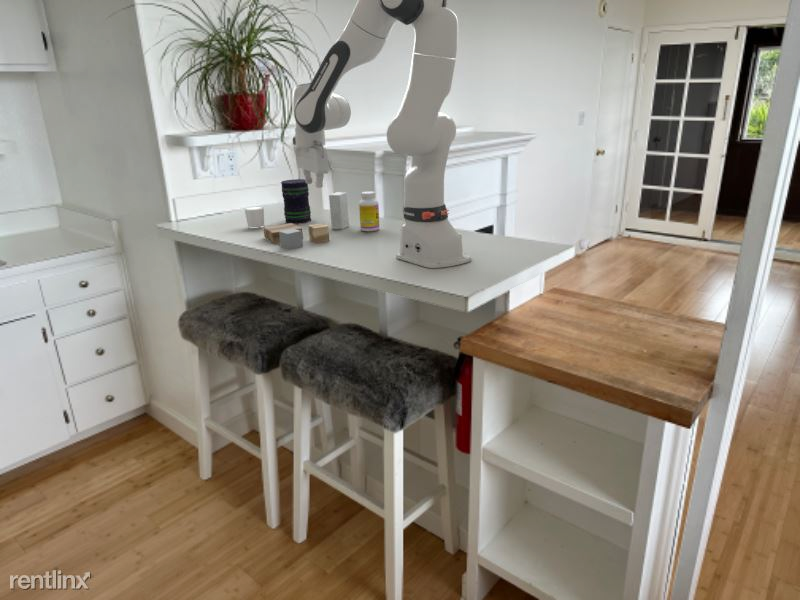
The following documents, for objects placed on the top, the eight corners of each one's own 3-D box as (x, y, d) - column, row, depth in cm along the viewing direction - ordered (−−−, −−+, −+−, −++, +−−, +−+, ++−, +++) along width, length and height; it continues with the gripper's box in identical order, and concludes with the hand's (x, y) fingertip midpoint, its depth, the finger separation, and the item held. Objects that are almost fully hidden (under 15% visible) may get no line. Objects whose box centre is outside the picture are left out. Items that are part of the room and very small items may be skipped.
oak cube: (329, 241, 182) (328, 225, 181) (314, 243, 180) (313, 228, 178) (324, 238, 186) (322, 223, 185) (309, 240, 184) (308, 225, 183)
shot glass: (261, 229, 203) (259, 209, 200) (243, 229, 204) (241, 209, 202) (268, 224, 209) (266, 206, 207) (251, 224, 210) (248, 206, 208)
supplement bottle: (379, 231, 192) (377, 193, 187) (359, 232, 192) (357, 194, 188) (380, 227, 198) (378, 190, 194) (361, 227, 198) (359, 191, 194)
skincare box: (338, 225, 204) (336, 191, 200) (349, 225, 202) (347, 192, 198) (331, 229, 199) (328, 194, 194) (342, 229, 197) (339, 195, 193)
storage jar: (282, 220, 216) (278, 180, 211) (307, 217, 219) (304, 178, 214) (288, 225, 207) (283, 184, 202) (314, 222, 211) (310, 181, 206)
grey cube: (302, 246, 177) (301, 230, 175) (289, 249, 174) (287, 233, 172) (294, 243, 181) (292, 228, 179) (280, 247, 178) (278, 231, 176)
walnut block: (303, 240, 186) (302, 228, 185) (273, 244, 182) (272, 232, 180) (292, 234, 194) (291, 223, 193) (264, 238, 190) (263, 227, 188)
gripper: (332, 141, 165) (335, 188, 170) (309, 137, 182) (312, 180, 187) (312, 142, 162) (315, 191, 167) (290, 138, 179) (294, 182, 184)
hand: (314, 185), depth 177 cm, fingers open, 8 cm apart
